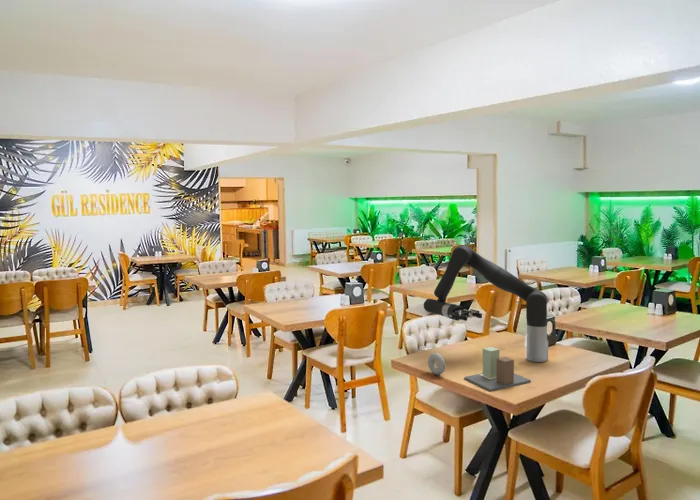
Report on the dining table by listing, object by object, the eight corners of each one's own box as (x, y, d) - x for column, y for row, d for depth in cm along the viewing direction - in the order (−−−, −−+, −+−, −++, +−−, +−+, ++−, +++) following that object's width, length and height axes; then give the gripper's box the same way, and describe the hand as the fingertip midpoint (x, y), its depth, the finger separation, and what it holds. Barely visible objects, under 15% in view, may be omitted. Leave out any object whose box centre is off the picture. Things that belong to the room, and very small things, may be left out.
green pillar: (491, 372, 238) (491, 346, 237) (499, 376, 234) (499, 349, 232) (482, 374, 236) (482, 348, 235) (490, 378, 232) (490, 351, 230)
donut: (447, 376, 238) (447, 354, 237) (441, 378, 236) (441, 356, 235) (431, 370, 246) (431, 349, 245) (426, 372, 244) (426, 351, 243)
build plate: (503, 370, 244) (503, 347, 243) (530, 382, 228) (531, 357, 227) (464, 379, 234) (464, 354, 233) (490, 391, 219) (490, 365, 218)
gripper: (440, 305, 261) (461, 311, 246) (464, 302, 267) (485, 307, 252) (441, 321, 261) (462, 327, 247) (464, 317, 268) (486, 323, 253)
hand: (474, 317), depth 250 cm, fingers open, 8 cm apart
